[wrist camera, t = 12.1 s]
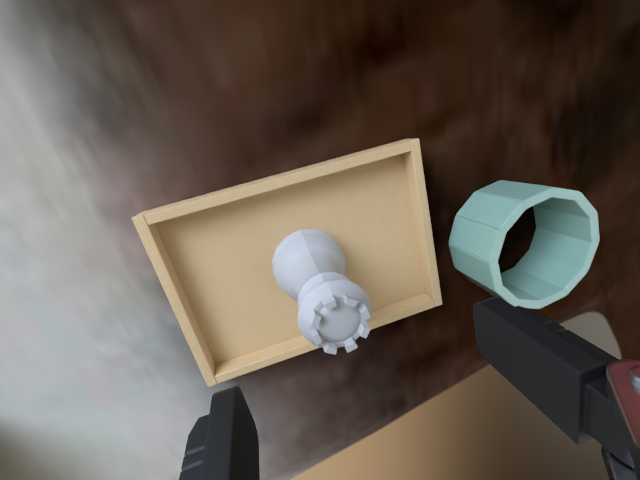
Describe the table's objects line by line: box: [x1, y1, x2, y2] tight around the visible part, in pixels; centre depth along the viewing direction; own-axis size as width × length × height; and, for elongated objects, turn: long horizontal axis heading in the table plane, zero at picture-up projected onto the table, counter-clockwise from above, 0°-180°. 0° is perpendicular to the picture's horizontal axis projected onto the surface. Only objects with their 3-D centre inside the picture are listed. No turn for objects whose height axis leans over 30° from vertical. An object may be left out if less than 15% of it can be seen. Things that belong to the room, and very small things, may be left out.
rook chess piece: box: [272, 229, 371, 355], centre depth 17 cm, size 4×4×8 cm
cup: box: [448, 180, 600, 309], centre depth 22 cm, size 8×8×4 cm
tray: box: [132, 138, 442, 387], centre depth 20 cm, size 16×11×2 cm
